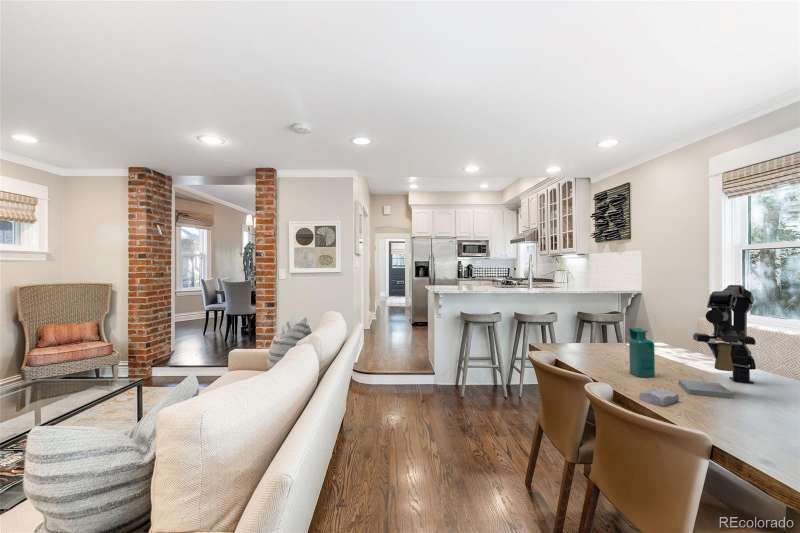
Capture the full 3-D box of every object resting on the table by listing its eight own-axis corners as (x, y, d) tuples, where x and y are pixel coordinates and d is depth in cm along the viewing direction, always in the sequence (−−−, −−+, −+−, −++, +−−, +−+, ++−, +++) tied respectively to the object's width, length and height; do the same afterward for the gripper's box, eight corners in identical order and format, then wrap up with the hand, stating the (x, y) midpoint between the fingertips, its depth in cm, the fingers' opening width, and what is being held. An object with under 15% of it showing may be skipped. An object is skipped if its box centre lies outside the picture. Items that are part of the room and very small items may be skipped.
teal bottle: (657, 377, 170) (656, 330, 171) (639, 377, 171) (638, 331, 171) (643, 371, 180) (642, 327, 180) (626, 371, 180) (625, 327, 181)
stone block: (637, 404, 142) (665, 407, 134) (635, 391, 143) (662, 394, 135) (654, 400, 148) (682, 402, 139) (652, 388, 149) (679, 389, 140)
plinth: (678, 383, 160) (678, 379, 160) (718, 387, 155) (718, 383, 155) (689, 394, 148) (688, 389, 148) (733, 398, 142) (732, 393, 142)
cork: (737, 371, 147) (737, 344, 147) (720, 370, 148) (720, 343, 148) (727, 367, 152) (726, 341, 153) (710, 367, 154) (710, 341, 154)
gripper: (702, 323, 147) (703, 362, 146) (762, 325, 139) (763, 366, 139) (692, 320, 157) (693, 356, 157) (747, 322, 150) (748, 359, 149)
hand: (723, 359), depth 150 cm, fingers closed on cork, 4 cm apart
